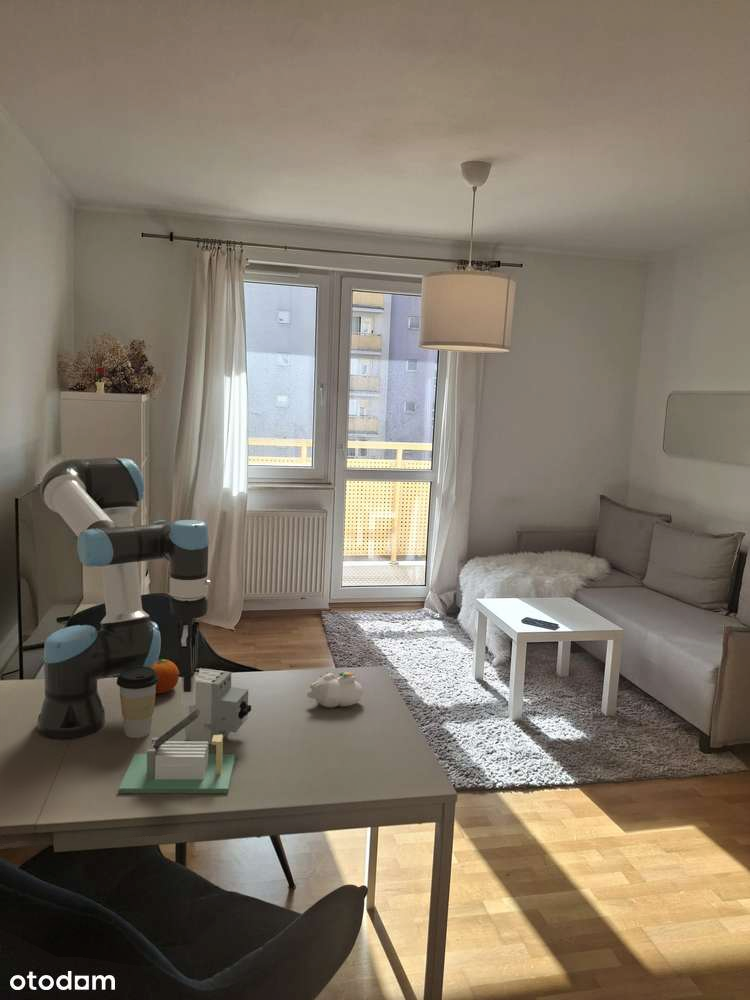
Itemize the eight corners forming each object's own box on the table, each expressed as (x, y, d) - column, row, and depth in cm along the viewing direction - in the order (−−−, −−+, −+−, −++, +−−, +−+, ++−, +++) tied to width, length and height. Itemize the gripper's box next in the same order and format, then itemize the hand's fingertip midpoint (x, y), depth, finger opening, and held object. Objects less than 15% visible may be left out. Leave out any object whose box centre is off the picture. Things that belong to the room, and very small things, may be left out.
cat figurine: (365, 667, 198) (311, 665, 193) (370, 693, 192) (315, 691, 187) (355, 689, 203) (302, 687, 198) (360, 714, 197) (306, 713, 192)
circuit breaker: (242, 748, 170) (243, 687, 168) (184, 740, 173) (185, 679, 170) (253, 734, 177) (255, 675, 175) (198, 725, 180) (199, 667, 178)
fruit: (156, 702, 192) (156, 673, 191) (130, 691, 197) (130, 663, 196) (187, 689, 201) (187, 661, 200) (161, 679, 206) (161, 652, 205)
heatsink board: (118, 793, 150) (118, 754, 148) (135, 758, 164) (135, 722, 162) (228, 793, 152) (228, 754, 150) (235, 758, 166) (235, 723, 164)
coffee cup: (135, 745, 169) (135, 684, 167) (108, 733, 174) (107, 673, 171) (166, 730, 177) (167, 671, 174) (140, 719, 182) (140, 661, 179)
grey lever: (151, 753, 155) (147, 749, 155) (154, 746, 158) (151, 742, 158) (198, 718, 154) (194, 714, 154) (200, 711, 157) (197, 707, 157)
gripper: (202, 605, 145) (201, 717, 149) (211, 587, 158) (210, 691, 162) (164, 604, 145) (164, 717, 148) (176, 586, 158) (175, 691, 161)
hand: (188, 703), depth 155 cm, fingers closed
